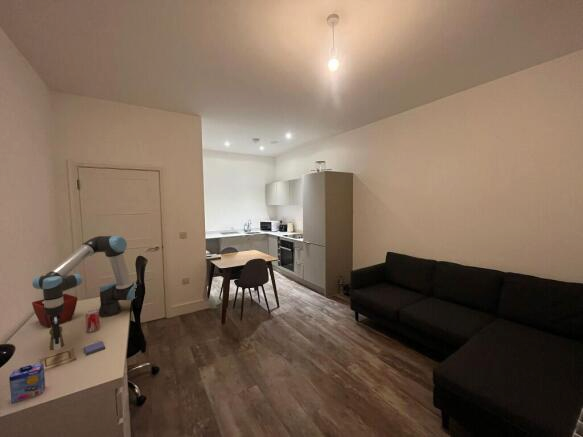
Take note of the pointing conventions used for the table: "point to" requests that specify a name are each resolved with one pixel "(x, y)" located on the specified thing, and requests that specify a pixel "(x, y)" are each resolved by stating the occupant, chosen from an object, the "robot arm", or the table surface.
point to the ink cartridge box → (27, 382)
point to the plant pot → (64, 315)
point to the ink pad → (93, 348)
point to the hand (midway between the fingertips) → (56, 346)
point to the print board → (58, 359)
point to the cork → (52, 339)
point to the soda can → (92, 321)
